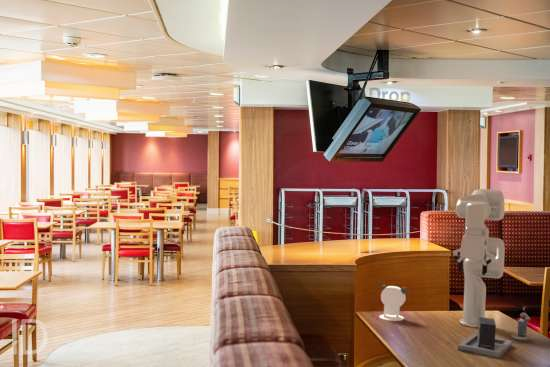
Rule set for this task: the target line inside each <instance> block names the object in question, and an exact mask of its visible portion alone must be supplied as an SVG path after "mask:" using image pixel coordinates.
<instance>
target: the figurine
mask: <svg viewBox="0 0 550 367" xmlns="http://www.w3.org/2000/svg"><path fill="white" fill-rule="evenodd" d="M530 321H531V317H529V315H528V314H527V313H526V312H521V313H520V315H519V319H518V320H517V321H516V323H517V327H516V329H517V333H516V334H511V335H510V340H511V341H512V342H517V343H521V344H530V343H533V337H532V336H530V335H527V330H528V323H529V322H530Z"/></svg>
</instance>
